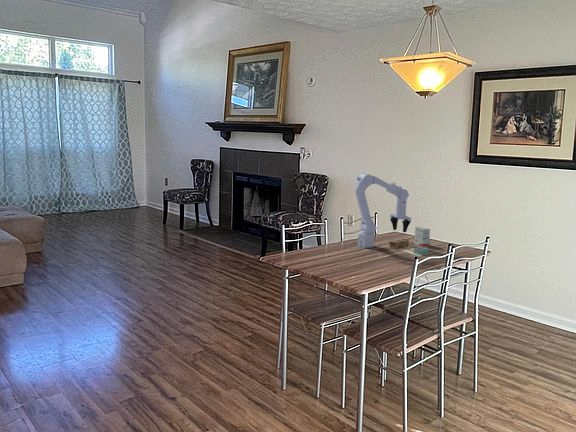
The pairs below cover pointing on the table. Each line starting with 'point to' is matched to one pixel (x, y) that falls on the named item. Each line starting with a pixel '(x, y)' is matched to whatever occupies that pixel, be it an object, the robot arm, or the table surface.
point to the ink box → (422, 236)
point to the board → (409, 251)
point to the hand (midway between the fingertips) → (399, 230)
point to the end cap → (421, 251)
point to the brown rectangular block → (399, 244)
